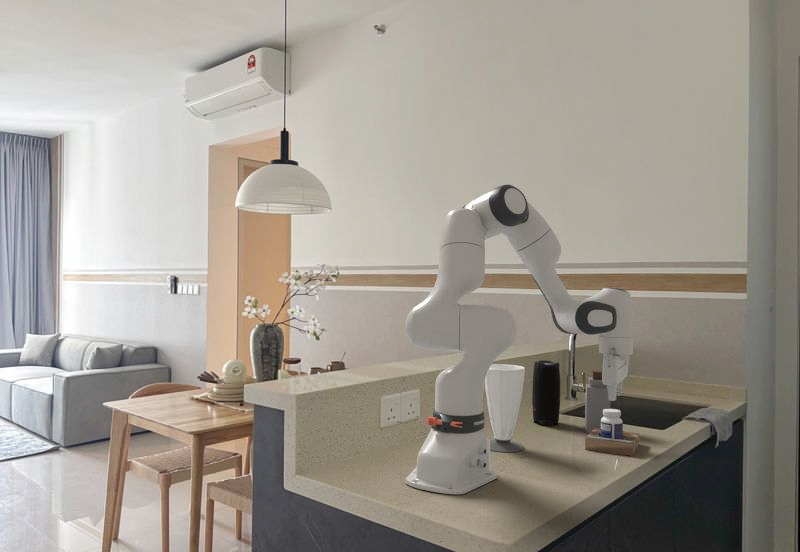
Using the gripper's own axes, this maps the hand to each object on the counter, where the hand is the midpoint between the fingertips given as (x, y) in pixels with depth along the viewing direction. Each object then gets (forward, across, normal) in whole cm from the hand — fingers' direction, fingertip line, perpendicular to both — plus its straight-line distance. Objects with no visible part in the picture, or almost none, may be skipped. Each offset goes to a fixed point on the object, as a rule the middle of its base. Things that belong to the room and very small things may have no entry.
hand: (615, 397), depth 164 cm
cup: (+14, -16, +26) cm, 34 cm away
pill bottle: (+14, +1, +1) cm, 14 cm away
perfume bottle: (+14, +18, +8) cm, 23 cm away
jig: (+14, 0, +1) cm, 14 cm away
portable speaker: (+13, +18, +24) cm, 33 cm away
